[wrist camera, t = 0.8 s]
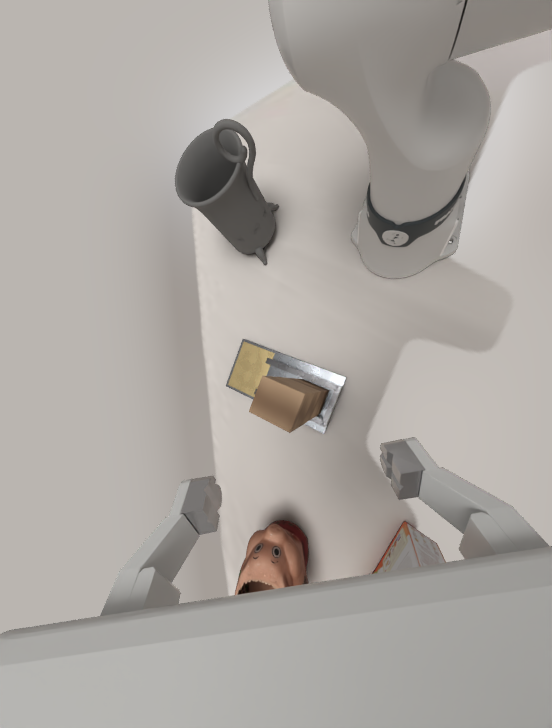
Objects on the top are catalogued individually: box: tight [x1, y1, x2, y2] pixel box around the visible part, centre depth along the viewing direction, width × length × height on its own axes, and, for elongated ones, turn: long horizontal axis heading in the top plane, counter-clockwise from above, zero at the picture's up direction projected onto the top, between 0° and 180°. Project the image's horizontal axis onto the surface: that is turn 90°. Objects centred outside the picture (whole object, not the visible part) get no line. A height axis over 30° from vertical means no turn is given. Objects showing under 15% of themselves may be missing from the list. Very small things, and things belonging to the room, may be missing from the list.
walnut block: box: [249, 376, 330, 433], centre depth 38 cm, size 5×6×20 cm
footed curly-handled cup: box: [175, 119, 279, 265], centre depth 44 cm, size 19×15×25 cm
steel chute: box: [226, 339, 346, 434], centre depth 49 cm, size 12×25×4 cm, turn 68°
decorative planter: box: [235, 520, 309, 595], centre depth 41 cm, size 20×12×14 cm, turn 3°
